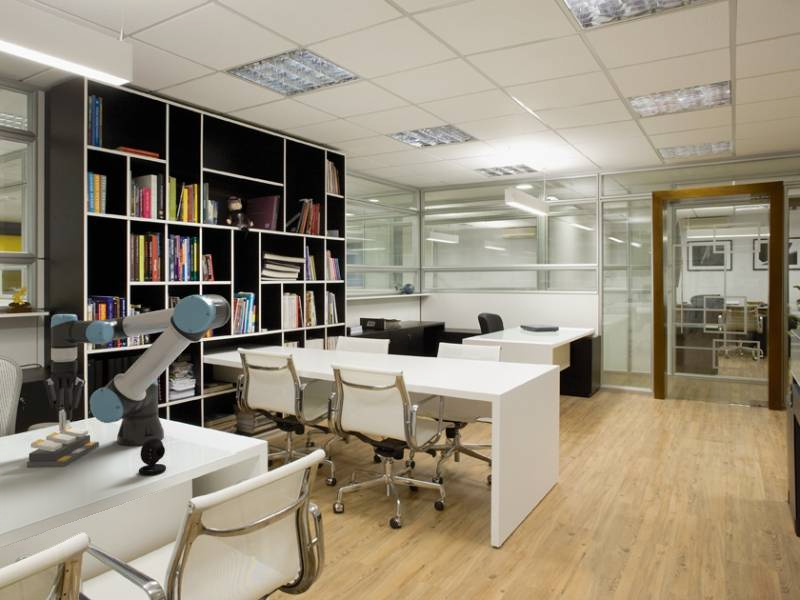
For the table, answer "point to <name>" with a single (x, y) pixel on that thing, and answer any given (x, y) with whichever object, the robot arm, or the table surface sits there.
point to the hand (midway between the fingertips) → (64, 429)
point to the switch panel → (63, 463)
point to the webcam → (152, 457)
